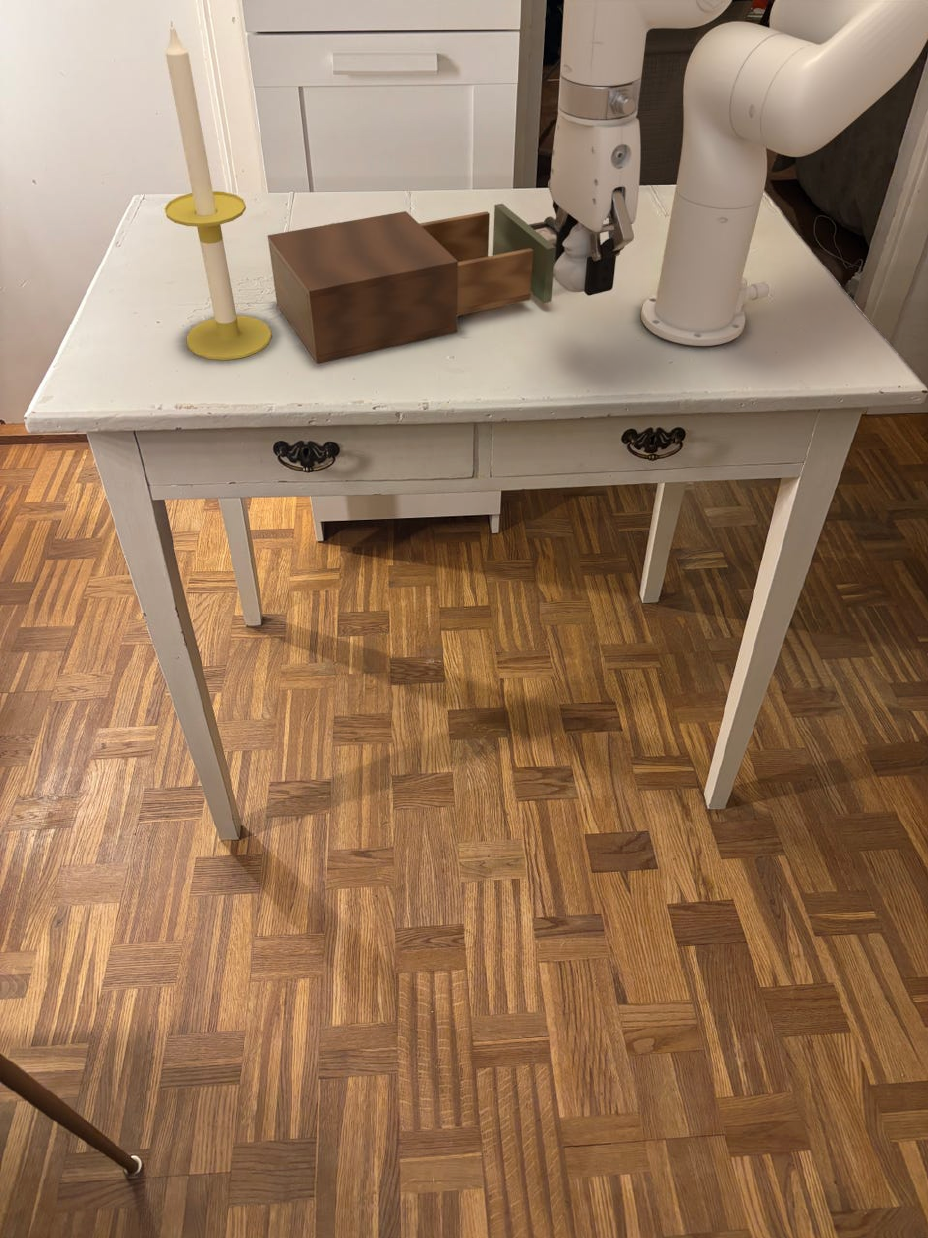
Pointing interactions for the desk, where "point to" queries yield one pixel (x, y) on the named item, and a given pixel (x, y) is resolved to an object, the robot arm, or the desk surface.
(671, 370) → the desk surface
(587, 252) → the rubber duck
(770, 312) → the desk surface
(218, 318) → the candle
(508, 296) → the drawer
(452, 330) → the cabinet
